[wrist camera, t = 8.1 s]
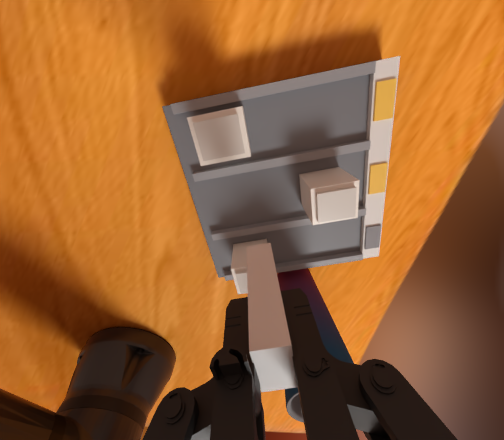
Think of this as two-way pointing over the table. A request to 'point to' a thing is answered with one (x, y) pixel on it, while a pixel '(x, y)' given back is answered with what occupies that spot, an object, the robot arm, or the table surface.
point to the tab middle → (329, 195)
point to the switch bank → (295, 164)
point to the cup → (324, 325)
